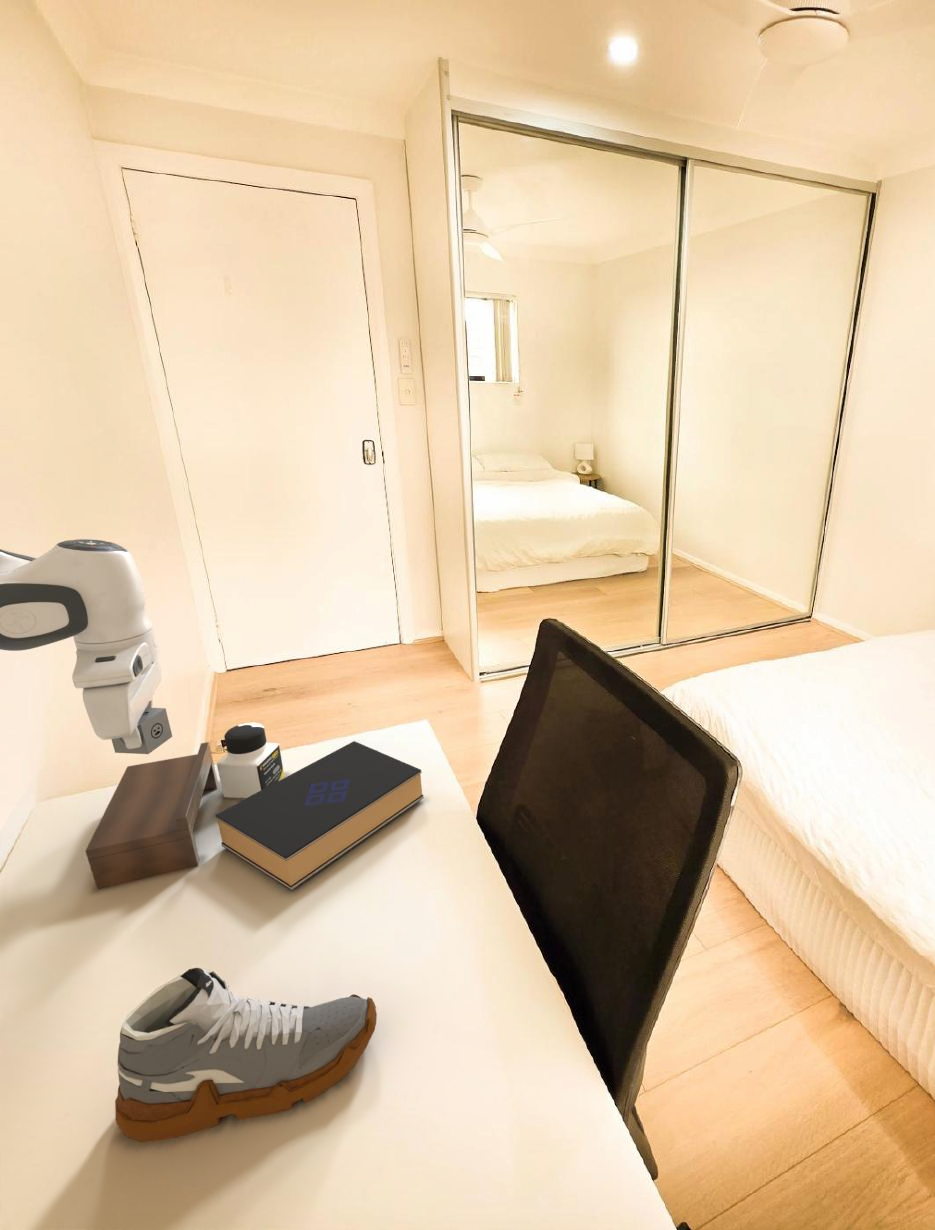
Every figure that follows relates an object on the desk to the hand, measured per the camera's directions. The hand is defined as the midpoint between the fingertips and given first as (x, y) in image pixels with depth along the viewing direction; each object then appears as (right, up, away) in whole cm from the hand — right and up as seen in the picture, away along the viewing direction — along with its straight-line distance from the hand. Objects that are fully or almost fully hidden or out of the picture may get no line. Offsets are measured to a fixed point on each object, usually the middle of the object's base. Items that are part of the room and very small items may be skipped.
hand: (141, 734), depth 91 cm
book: (+25, -17, +9) cm, 31 cm away
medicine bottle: (+7, -13, +17) cm, 23 cm away
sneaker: (+35, -30, -28) cm, 54 cm away
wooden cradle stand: (-1, -17, +6) cm, 18 cm away
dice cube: (0, -2, +1) cm, 2 cm away
